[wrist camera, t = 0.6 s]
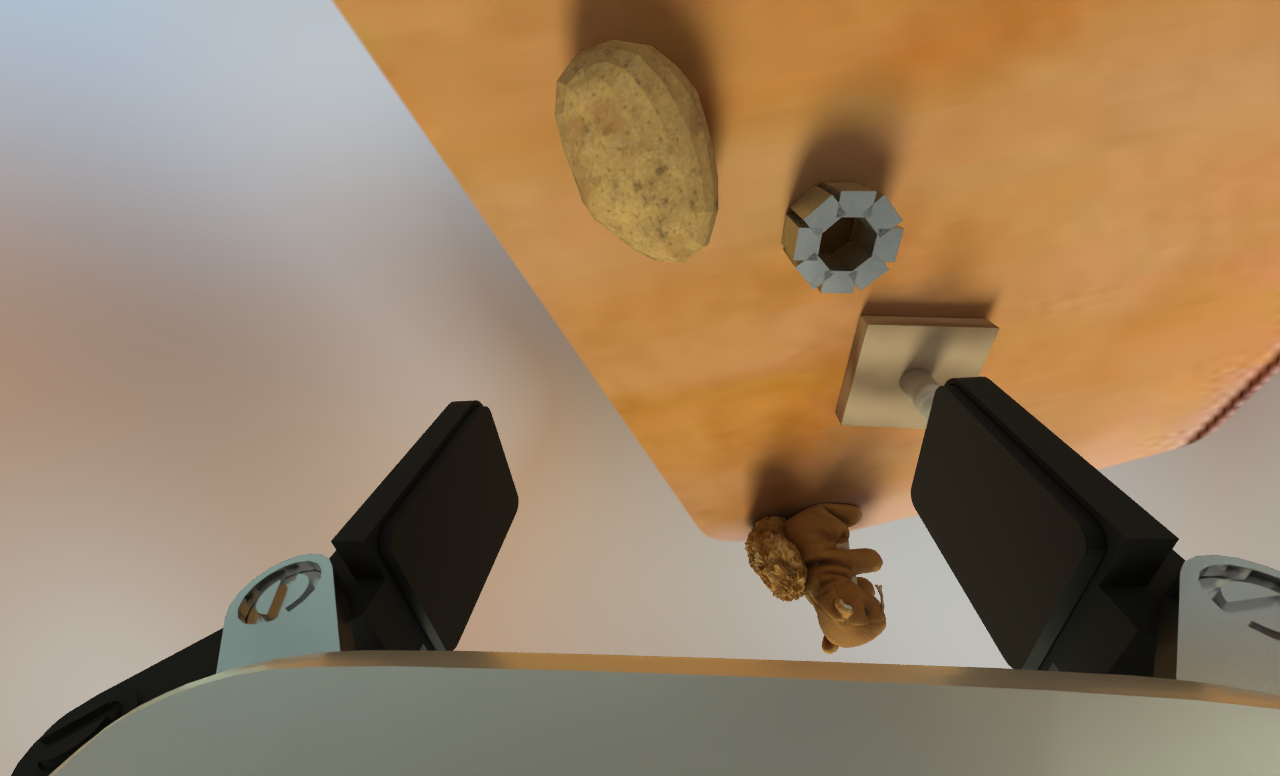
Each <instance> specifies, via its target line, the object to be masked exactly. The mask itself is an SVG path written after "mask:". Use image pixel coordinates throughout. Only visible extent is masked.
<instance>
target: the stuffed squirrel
mask: <svg viewBox="0 0 1280 776" xmlns="http://www.w3.org/2000/svg"><path fill="white" fill-rule="evenodd" d="M861 517H862V512H861V510H860V509H859V507H857V506H853V505H847V504H830V503H820V504H816V505H813V506H811V507H809V508H807V509H805V510H803V511H801V512H799V513H797V514H796V515H794V516H793V517H791V518H789V519H788V520H787V521H786V518H784V517H779V516H776V517H773V516H772V517H764V518H763V519H762V520H760V521H757V522H756V523H755V526H754V528H752V531H751V532H750V533H749V535H748V539H747V542H746V543H745V545H746V549H745V550H747V552H748V557H749V563H750V566H751V567H752V568H753V569H754V571H755V572H756V574H758V575H759V576H760V578H761V579H762V580H763V582H764V584H765V585H766V586H767V587H768V588H769V589H770V590H771V592H773V596H776V597H777V598H780V599H782V600H783V601H785V600H786V601H792V600H793V599H795V600H797V599H799V597H802V596H803V595H805V597H806V598H807V599H808V601H809V602H810V603H811V604H812V605H813V606H814V608H815V610H816V612H817V615H818V620H819V624H820V627H821V629H822V631H823V633H824V638H823V642H822V649H823V651H824V652H825V653H827V654H832V653H834V652H836V651H837V649H838V647H839V646H840V647H844V648H849V647H855V646H860V645H862V644H865V643H867V642H869V641H871V640H873V639H874V638H875V637H877V636H878V635H879V634H880V633H881V632H882V631H883V630H884V629H885V627H886V617H885V614H884V603H883V594H882V586H881V585H880V586H878V585H875V587H876V588H877V589H878V592H879V594H880V597H881V604H880V602H879V601H878V600H877V599H876V598H875V597H874V595H875V591H874V587H873V585H872V584H871V582H869V581H868V580H867V579H865V578H862V577H856V575H857V574H862V573H869V572H876V571H878V570H879V569H880V568H881V566H882V564H883V561H882V559H881V557H880V555H879V554H878V553H877V552H876V551H875V550H872V549H867V548H864V549H850V550H849V541H848V538H849V530H848V527H850V526H853V525H855V524H856V523H857V522H858V521H859V520H860V519H861Z"/></svg>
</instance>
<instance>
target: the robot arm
mask: <svg viewBox="0 0 1280 776" xmlns="http://www.w3.org/2000/svg"><path fill="white" fill-rule="evenodd" d="M911 498H912V502H913V505H914V507H915V509H916V511H917V512H918V514H919V516H920V518H921V519H922V521H923V522H924V524H925V526H926V528H927V529H928V531H929V533H930V534H931V536H932V538H933V539H934V541H935V543H936V544H937V546H938V548H939V550H940V551H941V553H942V555H943V556H944V558H945V560H946V561H947V563H948V564H949V566H950V568H951V570H952V571H953V573H954V575H955V576H956V578H957V580H958V582H959V583H960V585H961V586H962V588H963V590H964V592H965V593H966V595H967V597H968V598H969V600H970V602H971V603H972V605H973V607H974V609H975V610H976V612H977V614H978V615H979V617H980V618H981V620H982V622H983V624H984V625H985V627H986V629H987V630H988V632H989V634H990V635H991V637H992V639H993V641H994V642H995V644H996V646H997V647H998V649H999V651H1000V652H1001V654H1002V655H1003V657H1004V659H1005V660H1006V662H1007V663H1008V664H1009V665H1010V666H1011V667H1012V668H1013V669H1002V668H976V667H950V666H948V667H947V666H923V665H896V664H869V663H842V662H814V661H813V662H812V661H784V660H754V659H724V658H693V657H660V656H628V655H592V654H556V653H517V652H479V651H478V652H476V651H453V650H454V649H455V648H456V646H457V644H458V642H459V640H460V638H461V636H462V634H463V631H464V629H465V627H466V625H467V622H468V620H469V618H470V615H471V613H472V611H473V609H474V607H475V604H476V602H477V600H478V598H479V595H480V593H481V591H482V589H483V586H484V584H485V582H486V580H487V577H488V575H489V573H490V571H491V568H492V566H493V564H494V562H495V559H496V557H497V555H498V553H499V550H500V548H501V546H502V544H503V541H504V539H505V537H506V534H507V532H508V530H509V528H510V526H511V524H512V521H513V519H514V517H515V514H516V512H517V508H518V495H517V492H516V488H515V485H514V482H513V479H512V476H511V473H510V470H509V467H508V463H507V461H506V457H505V454H504V451H503V448H502V445H501V442H500V439H499V436H498V432H497V429H496V426H495V423H494V420H493V417H492V414H491V411H490V409H489V408H488V407H486V406H485V407H483V405H482V404H481V403H480V402H479V401H455V402H451V403H450V404H449V405H448V406H447V407H446V408H445V409H444V411H443V412H442V413H441V414H440V415H439V416H438V418H437V419H436V420H435V421H434V422H433V423H432V425H431V426H430V427H429V428H428V429H427V430H426V432H425V433H424V434H423V435H422V436H421V437H420V438H419V440H418V441H417V442H416V443H415V444H414V445H413V447H412V448H411V449H410V450H409V451H408V452H407V454H406V455H405V456H404V457H403V458H402V459H401V461H400V462H399V463H398V464H397V465H396V466H395V468H394V469H393V470H392V471H391V472H390V473H389V474H388V476H387V477H386V478H385V479H384V480H383V481H382V483H381V484H380V485H379V486H378V487H377V488H376V490H375V491H374V492H373V493H372V494H371V495H370V497H369V498H368V499H367V500H366V501H365V502H364V504H363V505H362V506H361V507H360V508H359V509H358V511H357V512H356V513H355V514H354V515H353V516H352V518H351V519H350V520H349V521H348V522H347V523H346V524H345V526H344V527H343V528H342V529H341V530H340V531H339V533H338V534H337V535H336V536H335V537H334V538H333V540H332V541H331V542H332V544H333V545H334V547H335V548H336V551H335V553H334V554H333V555H332V556H331V557H330V558H326V557H325V556H323V555H321V554H306V555H301V556H296V557H294V558H291V559H288V560H286V561H283V562H281V563H279V564H277V565H275V566H273V567H271V568H270V569H268V570H266V571H265V572H263V573H262V574H260V575H259V576H258V577H256V578H255V579H253V580H252V581H251V582H250V583H249V584H248V585H247V586H246V587H245V588H244V589H243V590H241V591H240V593H239V594H238V595H237V596H236V598H235V599H234V600H233V602H232V603H231V605H230V606H229V609H228V611H227V614H226V616H225V621H224V628H222V629H221V630H219V631H217V632H215V633H213V634H211V635H209V636H207V637H205V638H204V639H202V640H200V641H198V642H196V643H194V644H192V645H191V646H189V647H187V648H185V649H183V650H181V651H179V652H177V653H175V654H174V655H172V656H170V657H168V658H166V659H164V660H162V661H160V662H159V663H157V664H155V665H153V666H151V667H149V668H148V669H146V670H144V671H142V672H140V673H138V674H136V675H134V676H133V677H131V678H129V679H127V680H125V681H123V682H121V683H119V684H117V685H116V686H113V687H112V688H110V689H108V690H106V691H104V692H102V693H100V694H98V695H97V696H95V697H93V698H92V699H90V700H89V701H87V702H85V703H84V704H82V705H80V706H79V707H77V708H75V709H74V710H72V711H70V712H69V713H67V714H66V715H65V716H63V717H62V718H61V719H59V720H58V721H57V722H56V723H55V724H54V725H52V726H51V727H50V728H49V729H48V730H47V731H46V732H45V733H44V735H43V736H42V737H41V738H40V739H39V740H37V741H36V742H35V743H34V744H33V746H32V747H31V748H30V749H29V750H28V752H27V753H26V754H25V755H24V757H23V758H22V759H21V760H20V762H19V763H18V764H17V766H16V768H15V769H14V771H13V773H12V775H11V776H1280V571H1278V570H1275V569H1273V568H1270V567H1268V566H1265V565H1261V564H1257V563H1254V562H1250V561H1246V560H1243V559H1239V558H1234V557H1226V556H1219V555H1205V556H1196V557H1193V558H1191V559H1189V560H1187V561H1185V560H1184V559H1183V558H1182V557H1180V556H1179V555H1178V554H1177V553H1176V552H1175V551H1174V550H1173V547H1174V546H1175V544H1176V542H1177V541H1178V540H1179V538H1177V537H1176V536H1175V535H1174V534H1173V533H1171V532H1170V531H1169V530H1168V529H1167V528H1166V527H1164V526H1163V525H1162V524H1161V523H1160V522H1158V521H1157V520H1156V519H1155V518H1154V517H1152V516H1151V515H1150V514H1149V513H1148V512H1146V511H1145V510H1144V509H1143V508H1142V507H1141V506H1139V505H1138V504H1137V503H1136V502H1135V501H1133V500H1132V499H1131V498H1130V497H1129V496H1127V495H1126V494H1125V493H1124V492H1123V491H1121V490H1120V489H1119V488H1118V487H1117V486H1116V485H1114V484H1113V483H1112V482H1111V481H1110V480H1108V479H1107V478H1106V477H1105V476H1104V475H1102V474H1101V473H1100V472H1099V471H1098V470H1097V469H1095V468H1094V467H1093V466H1092V465H1091V464H1089V463H1088V462H1087V461H1086V460H1085V459H1083V458H1082V457H1081V456H1080V455H1079V454H1078V453H1076V452H1075V451H1074V450H1073V449H1072V448H1070V447H1069V446H1068V445H1067V444H1066V443H1064V442H1063V441H1062V440H1061V439H1060V438H1059V437H1057V436H1056V435H1055V434H1054V433H1053V432H1051V431H1050V430H1049V429H1048V428H1047V427H1045V426H1044V425H1043V424H1042V423H1041V422H1040V421H1038V420H1037V419H1036V418H1035V417H1034V416H1032V415H1031V414H1030V413H1029V412H1028V411H1026V410H1025V409H1024V408H1023V407H1022V406H1020V405H1019V404H1018V403H1017V402H1016V401H1015V400H1013V399H1012V398H1011V397H1010V396H1009V395H1007V394H1006V393H1005V392H1004V391H1003V390H1001V389H1000V388H999V387H998V386H997V385H996V384H994V383H993V382H992V381H991V380H990V379H988V378H986V377H964V378H951V379H949V380H947V382H946V383H945V385H944V386H939V387H938V388H937V389H936V391H935V394H934V398H933V402H932V406H931V410H930V414H929V418H928V422H927V426H926V430H925V434H924V439H923V443H922V447H921V451H920V455H919V459H918V463H917V467H916V471H915V475H914V479H913V483H912V487H911Z"/></svg>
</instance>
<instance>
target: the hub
mask: <svg viewBox="0 0 1280 776" xmlns="http://www.w3.org/2000/svg"><path fill="white" fill-rule="evenodd" d="M790 208H791V209H792V210H793V212H794V213H795V214H786V216H785V223H784V230H783V237H782V245H783V246H784V248H785V249H784V252H785V253H786V255H787V256H788V258H789V259H790V261H791V262H792V263H793V265H794V266H795V268H796V269H797V270H798V271H799V273H800V274H801V275H802V276H803V277H804V278H805V280H806V281H807V282H808V283H809V284H810V285H811V287H812V288H813V289H815V288H818V289H819V291H820V292H821V293H853V289H854V285H856V286H857V287H858V288H859V289H860V290H862V289H863V288H865V287H866V286H868V285H869V284H870V283H872V282H873V281H874V280H876V279H877V278H878V277H880V276H881V275H882V274H884V273H885V272H886V271H888V270H889V268H888V267H887V266H886V264H885V263H884V262H895V259H896V255H897V252H898V248H899V245H900V241H901V237H902V234H903V230H904V229H903V228H902V227H900V226H898V225H897V224H899V223H900V222H901V221H903V220H902V219H901V217H900V216H899V215H898V213H897V212H896V210H895V209H894V208H893V206H892V205H891V203H890V202H889V201H888V199H887V198H886V196H885V195H883V194H881V193H878V192H877V191H875V190H872V189H870V188H867V187H865V186H862V185H860V184H858V183H855V182H822V187H821V188H819V187H817V186H815V185H814V186H813V187H812V188H811V189H809V190H808V191H807V192H806V193H805V194H804V195H803V196H802V197H800V198H799V199H798V200H797V201H796V202H795V203H794V204H793V205H792V206H790ZM841 217H853V218H854V219H855V220H854V225H853V229H852V234H851V238H850V240H849V241H848V242H846V243H845V244H844V245H843V246H841V247H840V248H839V249H838V250H837V251H835V252H834V253H819V247H820V242H821V237H822V233H823V232H825V231H826V230H827V229H828V228H829V227H831V226H832V225H833V224H834V223H835V222H837V221H838V220H839V219H840V218H841Z"/></svg>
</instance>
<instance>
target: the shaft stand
mask: <svg viewBox="0 0 1280 776" xmlns="http://www.w3.org/2000/svg"><path fill="white" fill-rule="evenodd" d="M998 330H999V328H998V327H997V326H996V325H994V324H993V323H991V322H990V321H988V320H987V319H982V318H943V317H904V316H865V315H860V318H859V322H858V326H857V330H856V334H855V338H854V342H853V346H852V350H851V354H850V358H849V362H848V365H847V369H846V373H845V377H844V381H843V385H842V389H841V393H840V397H839V401H838V405H837V409H836V415H837V417H838V419H839V421H840V423H841V425H852V426H873V427H894V428H916V429H926V426H927V422H928V418H929V414H930V410H931V406H932V402H933V398H934V394H935V391H936V389H937V388H938V387H939V386H944V385H945V383H946V382H947V380H949V379H951V378H964V377H979V375H980V372H981V370H982V368H983V365H984V363H985V361H986V358H987V356H988V354H989V351H990V349H991V347H992V344H993V342H994V340H995V337H996V335H997V333H998Z"/></svg>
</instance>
